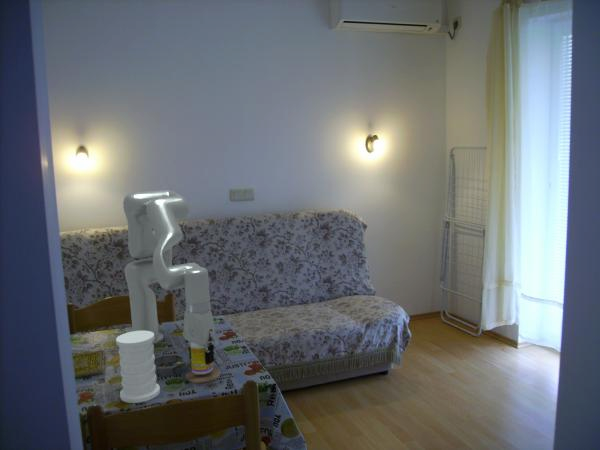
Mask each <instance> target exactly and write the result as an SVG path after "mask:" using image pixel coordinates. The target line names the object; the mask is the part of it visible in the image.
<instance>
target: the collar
mask: <svg viewBox="0 0 600 450" xmlns="http://www.w3.org/2000/svg"><path fill="white" fill-rule="evenodd" d="M168 363H175V364H174V365H173V366H163V367H159V366H161V365H163V364H168ZM154 364H155V367H156V370H155V374H156V377H165V376H166V377H168V376H175V375H177V374H179V373H181V372H184V371H186V370H187V368H188V356H187V355H183V354H180V353H169V354H168V353H166V354H161V355H159V356H158V355H157V356H155V361H154Z"/></svg>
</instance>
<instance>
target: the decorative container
mask: <svg viewBox="0 0 600 450" xmlns="http://www.w3.org/2000/svg"><path fill="white" fill-rule="evenodd" d="M154 338H155V337H154V333H153V332H151V331H132V332H129V331H128V332H125V333H122V334H120V335H118V336H116V339H115V341H116V343H115V344H116V346H118V347H119V348H118V354H119V355H118V356H119V359H120V360H119V366H120V372H119V374H120V377H121V387H122V389H121V390H120V392H119V398H120V400H121V401H123V402H124V403H128V404H138V403H144V402H148V401H150V400H153V399H154V398H157V396H159V395H160V393H161V386H160V384H159V383H157V379H158V378H157V377H158V376H156V374H155V370H156V367H157V366H156V367H155V364H154V361H155V358H156V356H155V354H154V350H155V344H153V343H152V341H153V340H154Z"/></svg>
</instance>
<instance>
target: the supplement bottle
mask: <svg viewBox="0 0 600 450" xmlns="http://www.w3.org/2000/svg"><path fill="white" fill-rule="evenodd" d="M208 341H209V340H208ZM209 346H210V344H209V343H208V347H209ZM190 349H191V359H190V361H191V362H190V363H191V371H192V372H193V373H194V374H199V375H202V374H207V373H209V372H211V371H212V369H213V368H214V364H213V363H214V362H212V363H210V364H208V365H207V364H206V363H205V352H206V350H205V347H204V345H200V344H197V343H193V342H191V343H190Z"/></svg>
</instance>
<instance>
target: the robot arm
mask: <svg viewBox="0 0 600 450" xmlns="http://www.w3.org/2000/svg"><path fill="white" fill-rule="evenodd" d="M122 204H123V205H122V208H123V211H124V215H125V218H126V220H127V231H128V232H127V243H128V252H129V255H130V256H131V258H133V259H138V260H133V261H132V262H129V263H127V264H126V265H125V267H124V276H125V280H126V283H127V284H126V285H127V288H128V295H129V305H130V316H131V327H132V328H131V329H130V328H129V330H128V332H132V331H151V332H153V333H154V337H155V338H154V340H153V341H152V343H153V345H155V344H158V343H161V341H163V340H164V335H163V334H162V333H161V332H159V321H158V310H157V300H156V298H157V297H156V293H155V292H154V290H153V289H151V287H150V286H149V285H150V284H155V283H158V284H159V286H160V287H161V288H162V289H163V290H165V291H173V290H178V289H183V288H184V294H185V295H184V296H185V297H184V298H185V310H184V315H183V331H182V335H183V338H184V340H185V342H186V343H187V348H188V353H189V356H188V357H189V360H191V349H190V343H191V342H193V343H197V344H200V345H204V347H205V350H206V352H205V363H206V364H207V365H208V364H210V363H212V362H213V363H214V361H215V352H214V351H215V350H216V347H218V345H219V343H220V340H219V338H218V337H217V336H216V332H215V331H216V330H215V322H214V318H213V314H212V311H211V299H210V281H209V280H210V279H209V273H208V271H209V270H208V269H207V268H205V267H202V266H200V265H199V264H198V263H197V262H188V263H181V264H176V265H173V247H175V245H178V244H179V242H180V241H181V240H183V235H184V234H183V231H182V229H181V227H180V224H179V222H178V221H180V220H185V219H187V218H189V214H190V206H189V203H188V201H187V199H186V198H185V197H184V196H182V195H181V194H179V193H176V192H175V191H172V190H169V189H160V190H159V189H158V190H148V191H136V192H132V193H131V192H129V193H128V194H126V195H125V196H124V199H123V203H122ZM151 257H152V258H151ZM144 258H145V259H144ZM208 340H209V341H208ZM208 343H209V344H210V346H209V347H208Z"/></svg>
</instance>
